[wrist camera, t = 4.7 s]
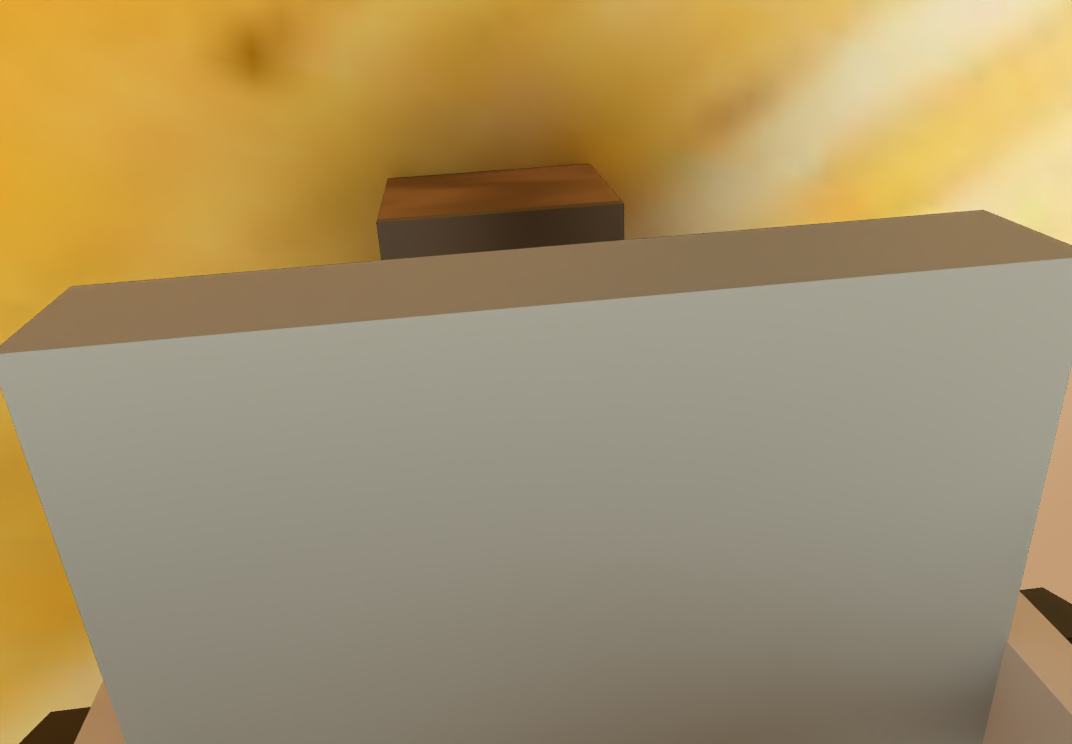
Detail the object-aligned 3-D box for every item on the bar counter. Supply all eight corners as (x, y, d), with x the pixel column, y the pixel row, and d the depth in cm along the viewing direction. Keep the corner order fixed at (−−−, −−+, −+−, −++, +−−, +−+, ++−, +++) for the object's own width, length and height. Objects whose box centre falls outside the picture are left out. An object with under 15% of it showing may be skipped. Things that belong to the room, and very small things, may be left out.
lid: (276, 978, 15) (255, 1112, 13) (71, 286, 10) (-10, 354, 8) (867, 888, 16) (923, 1003, 14) (983, 209, 11) (1097, 255, 9)
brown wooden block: (411, 364, 32) (405, 441, 27) (387, 178, 29) (376, 222, 24) (594, 347, 33) (625, 420, 27) (589, 163, 30) (623, 203, 24)
